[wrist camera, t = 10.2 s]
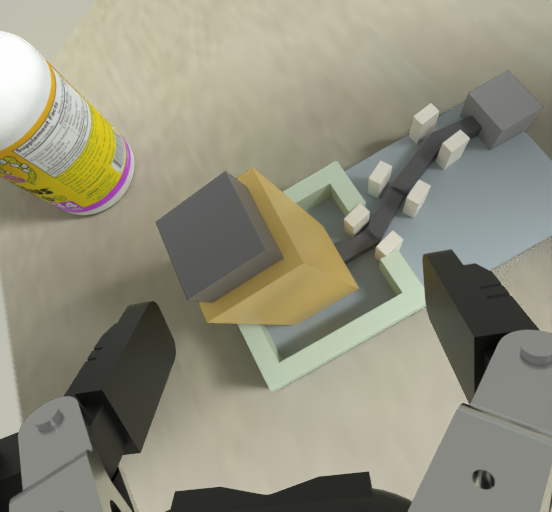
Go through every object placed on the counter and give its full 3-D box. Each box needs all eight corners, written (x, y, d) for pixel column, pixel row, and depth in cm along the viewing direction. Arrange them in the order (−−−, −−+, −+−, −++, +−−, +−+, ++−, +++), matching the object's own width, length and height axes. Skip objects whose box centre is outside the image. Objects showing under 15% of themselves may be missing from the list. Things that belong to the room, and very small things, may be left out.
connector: (323, 226, 22) (231, 150, 13) (359, 288, 21) (286, 254, 12) (265, 263, 23) (139, 218, 14) (295, 325, 22) (180, 321, 13)
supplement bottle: (37, 185, 30) (-184, 57, 18) (98, 118, 30) (-74, -50, 18) (93, 237, 28) (-114, 133, 15) (157, 164, 28) (7, 9, 16)
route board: (482, 99, 25) (500, 62, 22) (587, 216, 22) (624, 191, 19) (214, 255, 26) (195, 239, 22) (281, 388, 23) (269, 391, 20)
